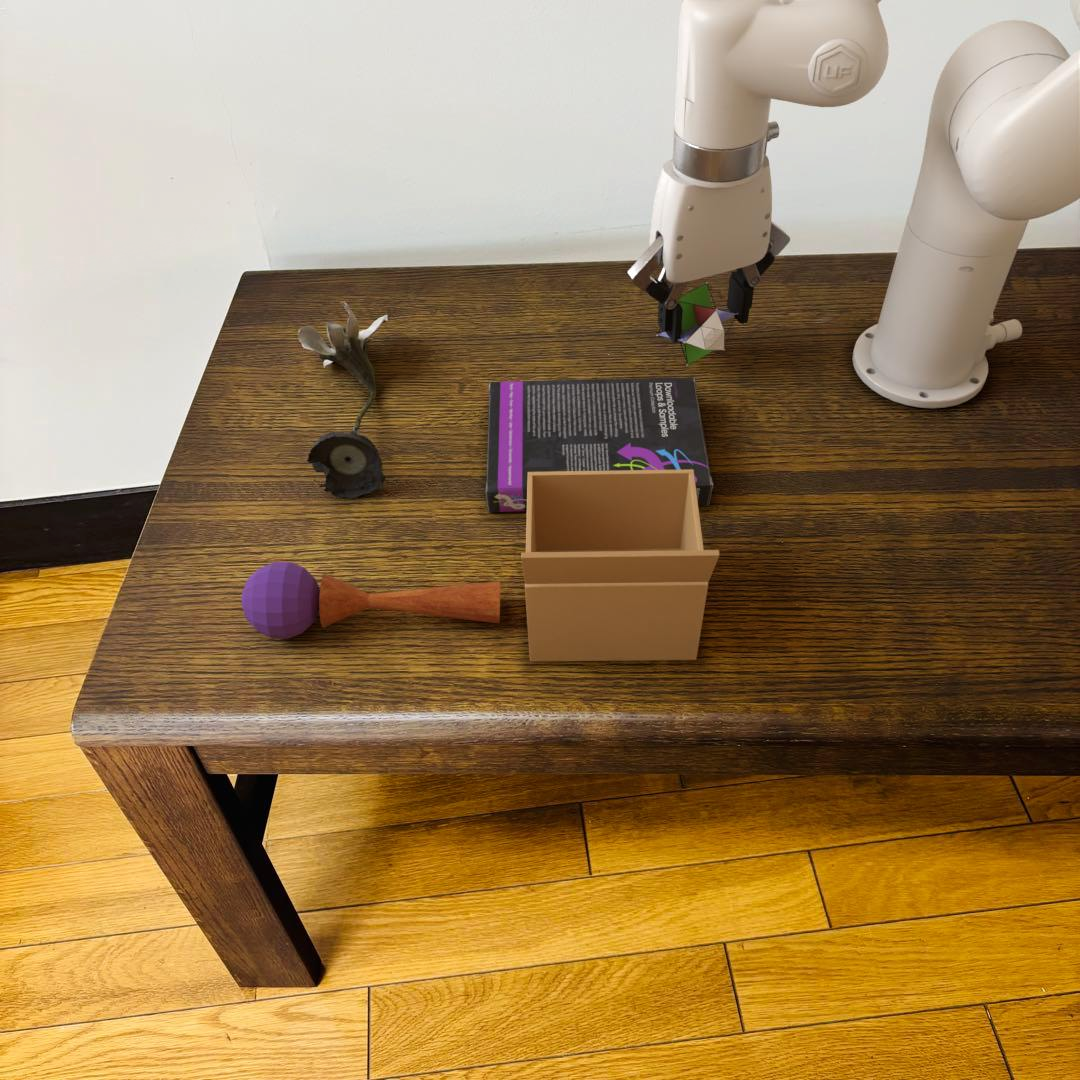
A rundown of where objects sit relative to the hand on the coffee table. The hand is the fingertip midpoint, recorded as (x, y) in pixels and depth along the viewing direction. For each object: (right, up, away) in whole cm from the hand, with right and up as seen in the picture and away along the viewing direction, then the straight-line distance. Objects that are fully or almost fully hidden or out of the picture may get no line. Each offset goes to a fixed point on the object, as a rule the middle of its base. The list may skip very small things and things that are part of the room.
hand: (704, 323), depth 96 cm
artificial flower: (-34, -9, 0) cm, 35 cm away
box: (-11, -13, -5) cm, 18 cm away
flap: (-11, -23, -29) cm, 39 cm away
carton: (-10, -26, -16) cm, 32 cm away
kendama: (-29, -27, -16) cm, 43 cm away
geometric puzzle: (-1, -2, +3) cm, 4 cm away
